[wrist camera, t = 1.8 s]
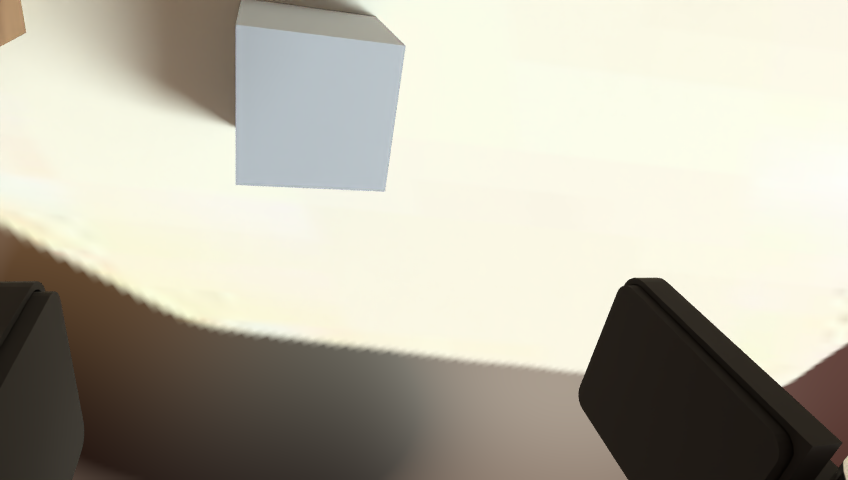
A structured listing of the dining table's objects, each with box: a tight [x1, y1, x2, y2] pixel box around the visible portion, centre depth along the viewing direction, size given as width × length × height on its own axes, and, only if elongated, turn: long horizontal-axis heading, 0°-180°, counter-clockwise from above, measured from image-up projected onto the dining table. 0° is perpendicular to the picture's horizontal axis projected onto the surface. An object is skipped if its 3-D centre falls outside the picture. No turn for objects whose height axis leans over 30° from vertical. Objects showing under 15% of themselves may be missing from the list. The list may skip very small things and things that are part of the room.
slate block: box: [236, 0, 405, 191], centre depth 22 cm, size 6×6×6 cm
